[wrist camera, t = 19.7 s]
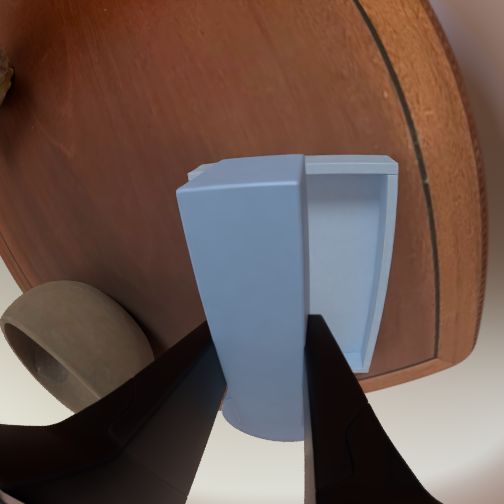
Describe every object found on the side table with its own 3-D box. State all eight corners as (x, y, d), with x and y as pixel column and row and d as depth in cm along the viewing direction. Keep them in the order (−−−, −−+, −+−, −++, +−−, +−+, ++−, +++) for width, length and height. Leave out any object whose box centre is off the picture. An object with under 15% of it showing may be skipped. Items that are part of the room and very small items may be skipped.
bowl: (56, 324, 32) (17, 371, 23) (50, 224, 22) (-22, 278, 14) (158, 390, 33) (128, 450, 24) (196, 316, 24) (147, 413, 15)
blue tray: (202, 164, 17) (186, 173, 15) (388, 155, 14) (398, 163, 12) (240, 348, 25) (233, 368, 23) (366, 351, 22) (368, 372, 20)
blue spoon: (180, 164, 7) (121, 196, 5) (351, 152, 6) (375, 180, 4) (240, 407, 13) (226, 452, 11) (329, 413, 12) (326, 461, 10)
